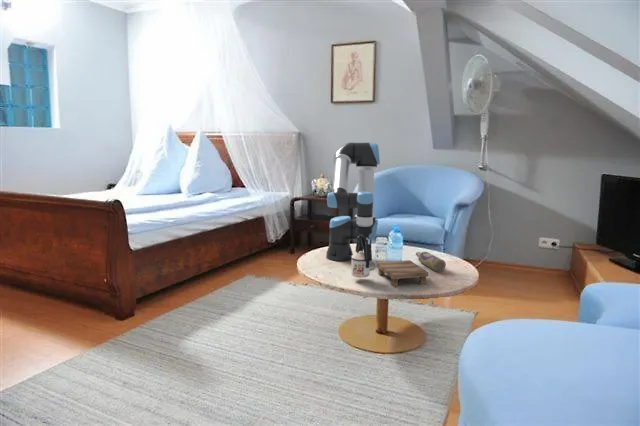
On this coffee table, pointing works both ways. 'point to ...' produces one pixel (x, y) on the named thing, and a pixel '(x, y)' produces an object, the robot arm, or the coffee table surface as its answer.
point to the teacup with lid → (359, 265)
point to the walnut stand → (402, 271)
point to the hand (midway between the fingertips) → (363, 270)
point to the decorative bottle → (431, 261)
